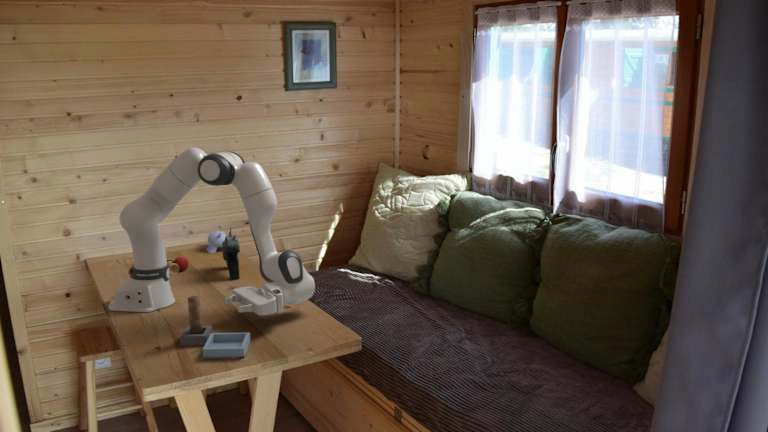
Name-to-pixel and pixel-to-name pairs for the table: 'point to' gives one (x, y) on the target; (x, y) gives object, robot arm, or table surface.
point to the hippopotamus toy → (215, 241)
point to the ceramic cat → (231, 255)
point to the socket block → (195, 336)
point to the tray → (226, 345)
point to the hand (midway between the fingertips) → (231, 305)
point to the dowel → (195, 315)
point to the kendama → (177, 265)
